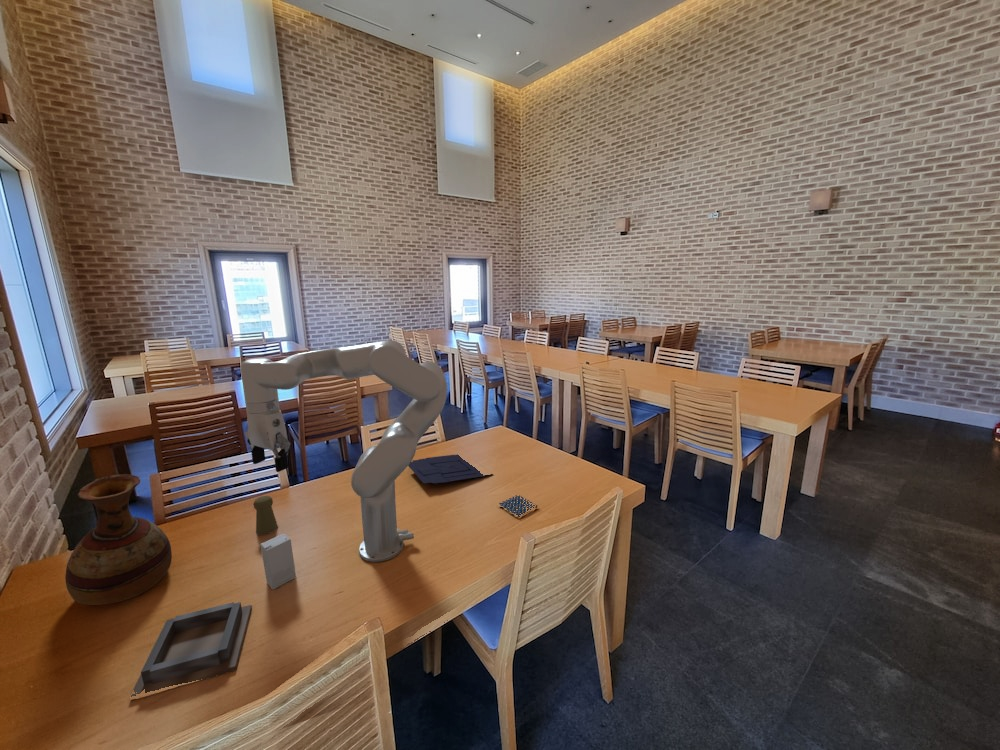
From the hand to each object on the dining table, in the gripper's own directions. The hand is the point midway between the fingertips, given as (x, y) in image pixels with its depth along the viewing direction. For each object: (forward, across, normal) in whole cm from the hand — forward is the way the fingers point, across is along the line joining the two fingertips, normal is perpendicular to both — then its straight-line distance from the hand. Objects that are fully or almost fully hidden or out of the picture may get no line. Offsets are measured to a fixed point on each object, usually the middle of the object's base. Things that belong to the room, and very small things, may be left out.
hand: (270, 465), depth 108 cm
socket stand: (+28, -12, +28) cm, 41 cm away
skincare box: (+28, -9, +6) cm, 30 cm away
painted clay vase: (+29, +25, +26) cm, 46 cm away
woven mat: (+28, -50, -54) cm, 79 cm away
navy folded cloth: (+28, -13, -65) cm, 72 cm away
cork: (+28, +16, -6) cm, 33 cm away
